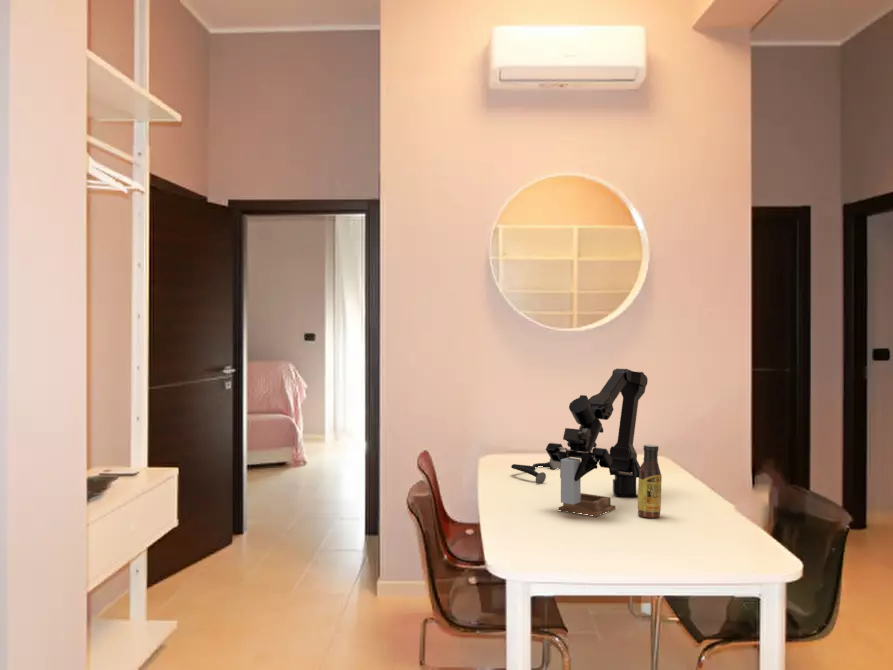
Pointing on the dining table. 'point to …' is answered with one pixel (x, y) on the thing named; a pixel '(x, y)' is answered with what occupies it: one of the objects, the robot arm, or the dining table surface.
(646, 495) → the sauce bottle
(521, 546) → the dining table surface
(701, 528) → the dining table surface
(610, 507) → the post socket
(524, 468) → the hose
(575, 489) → the grey square post
